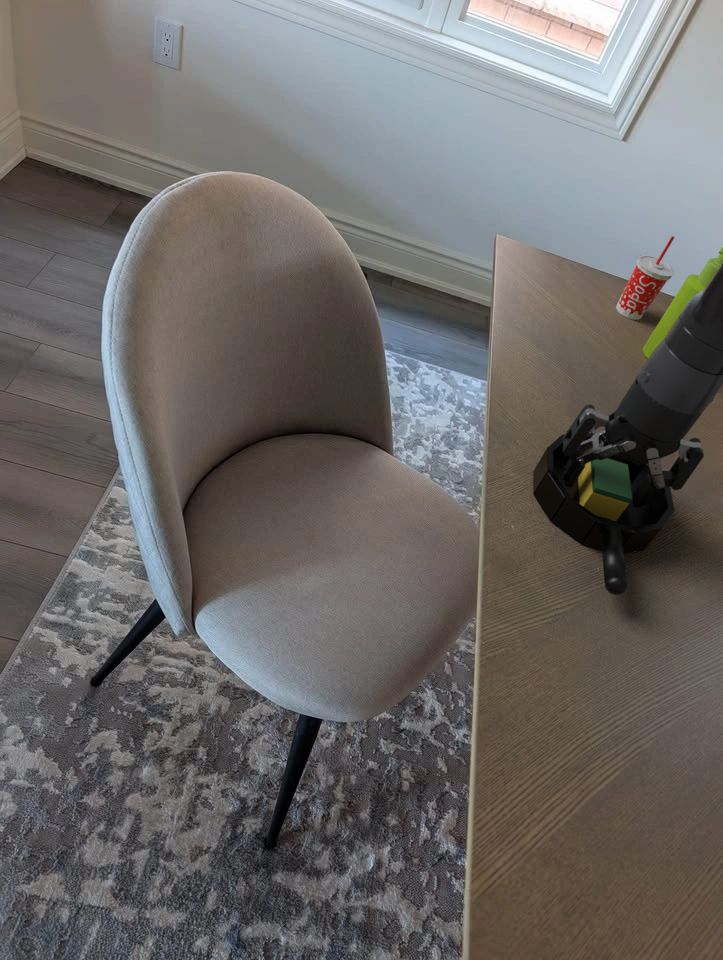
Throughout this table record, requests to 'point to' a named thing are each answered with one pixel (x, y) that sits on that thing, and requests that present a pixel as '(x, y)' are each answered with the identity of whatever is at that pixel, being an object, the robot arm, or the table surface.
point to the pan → (593, 530)
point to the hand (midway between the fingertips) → (601, 492)
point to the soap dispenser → (682, 302)
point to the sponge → (605, 488)
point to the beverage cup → (644, 285)
